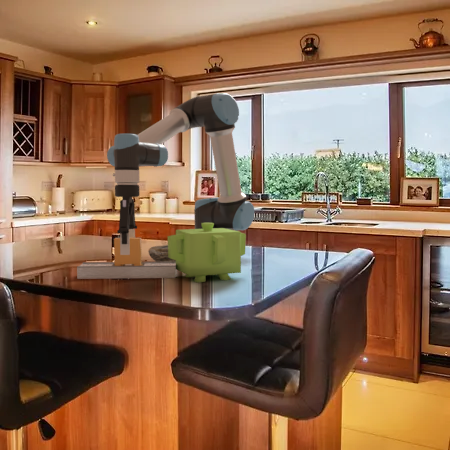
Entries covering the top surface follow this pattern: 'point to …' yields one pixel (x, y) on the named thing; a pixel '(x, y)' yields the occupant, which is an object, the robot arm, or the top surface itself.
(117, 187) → the robot arm
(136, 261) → the tall orange block
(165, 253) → the stone
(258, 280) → the top surface
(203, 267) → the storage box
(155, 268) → the rail
